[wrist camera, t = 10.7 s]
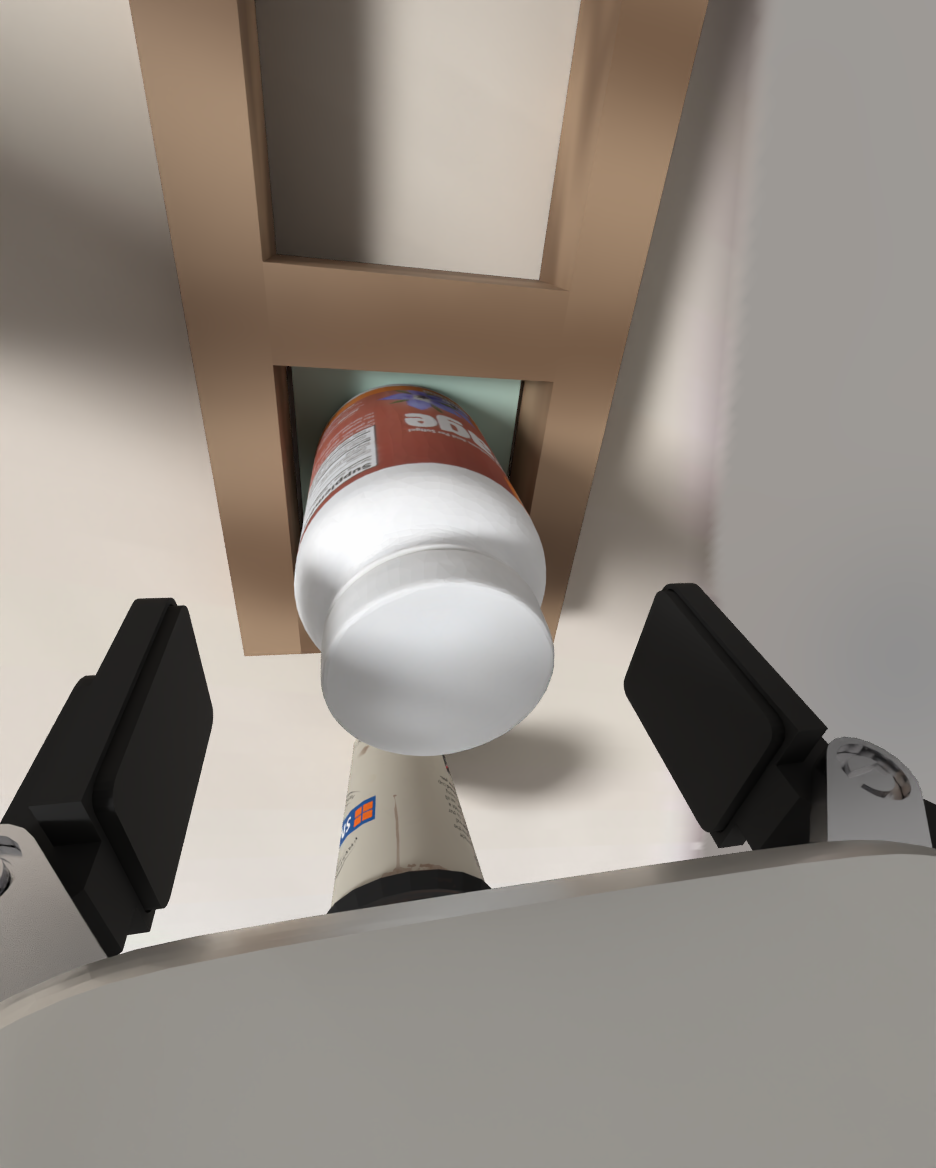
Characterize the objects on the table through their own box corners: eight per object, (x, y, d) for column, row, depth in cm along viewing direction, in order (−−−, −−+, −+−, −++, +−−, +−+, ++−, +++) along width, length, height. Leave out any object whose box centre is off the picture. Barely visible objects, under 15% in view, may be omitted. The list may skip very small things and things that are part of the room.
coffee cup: (479, 709, 28) (531, 910, 20) (437, 791, 32) (467, 991, 23) (347, 692, 26) (345, 912, 18) (316, 783, 29) (303, 1002, 21)
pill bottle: (518, 464, 20) (649, 663, 11) (404, 567, 22) (440, 812, 13) (398, 336, 17) (450, 472, 8) (276, 468, 19) (207, 702, 10)
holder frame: (98, -440, 9) (11, -666, 7) (704, -242, 12) (795, -359, 9) (256, 607, 22) (244, 656, 20) (533, 600, 25) (553, 643, 22)
